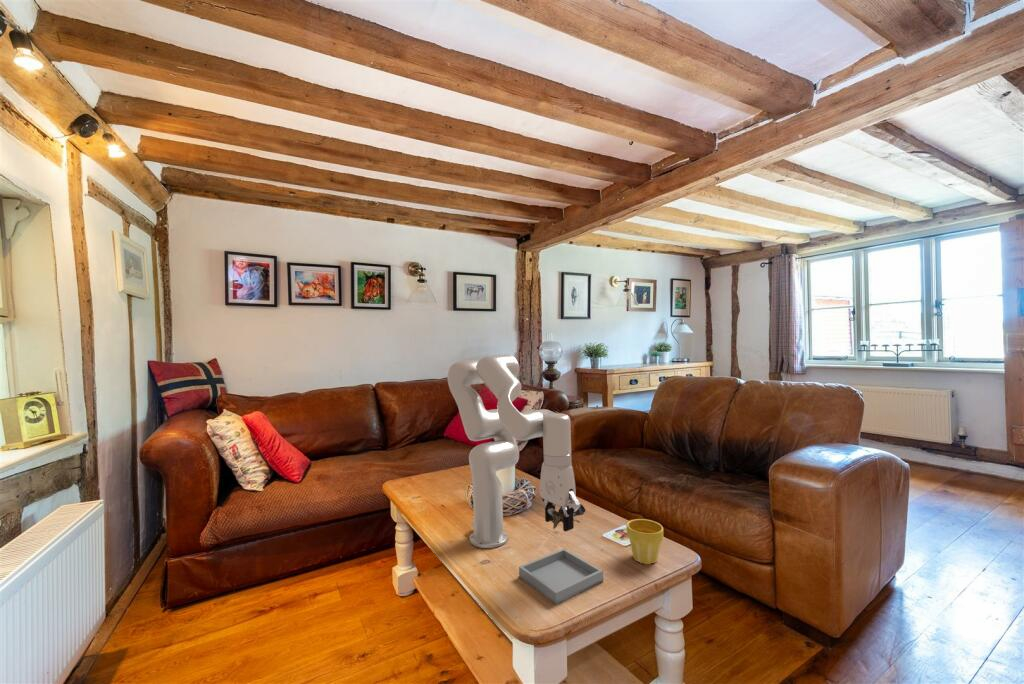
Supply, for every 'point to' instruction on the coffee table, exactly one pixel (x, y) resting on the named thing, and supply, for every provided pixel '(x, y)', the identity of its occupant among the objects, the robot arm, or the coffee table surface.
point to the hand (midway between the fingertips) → (559, 524)
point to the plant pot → (645, 539)
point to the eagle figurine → (560, 515)
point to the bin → (560, 575)
